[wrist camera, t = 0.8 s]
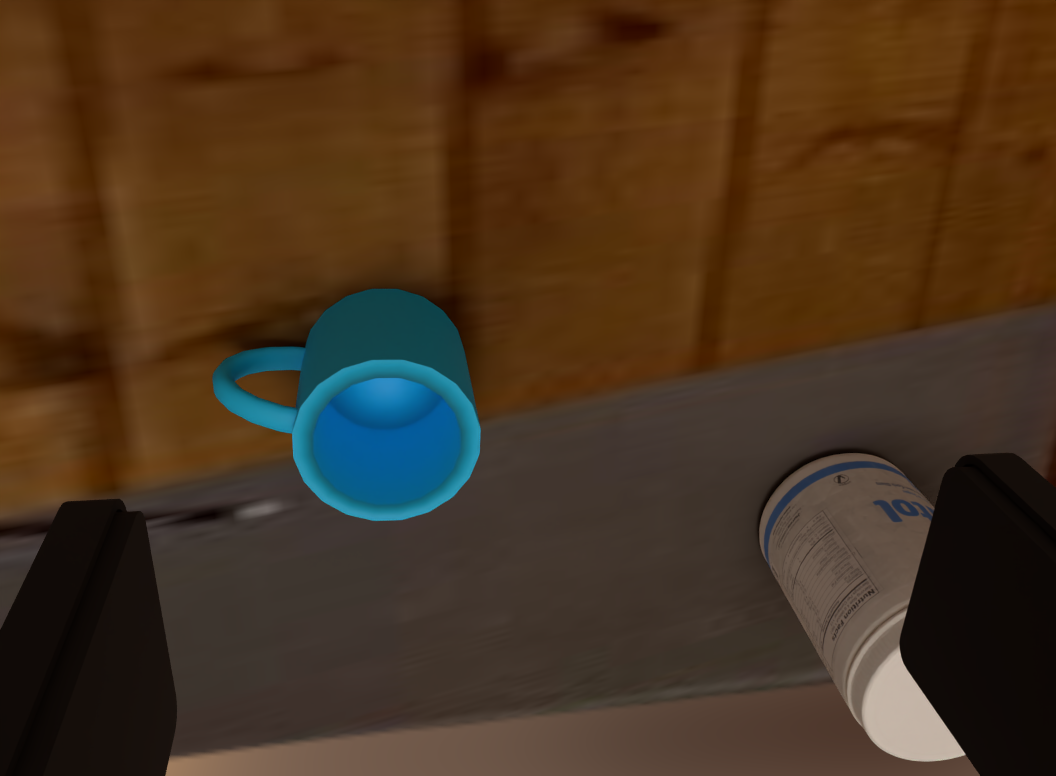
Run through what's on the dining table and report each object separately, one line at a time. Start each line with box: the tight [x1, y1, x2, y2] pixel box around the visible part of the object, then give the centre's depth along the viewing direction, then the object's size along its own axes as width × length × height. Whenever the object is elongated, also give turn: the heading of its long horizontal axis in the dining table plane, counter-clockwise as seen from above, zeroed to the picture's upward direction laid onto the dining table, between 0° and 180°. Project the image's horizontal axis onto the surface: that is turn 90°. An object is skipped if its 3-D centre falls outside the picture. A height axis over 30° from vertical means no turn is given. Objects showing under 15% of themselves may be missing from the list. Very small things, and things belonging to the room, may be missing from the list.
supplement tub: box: [759, 453, 966, 761], centre depth 52 cm, size 10×10×15 cm
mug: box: [213, 289, 481, 521], centre depth 46 cm, size 12×8×8 cm
